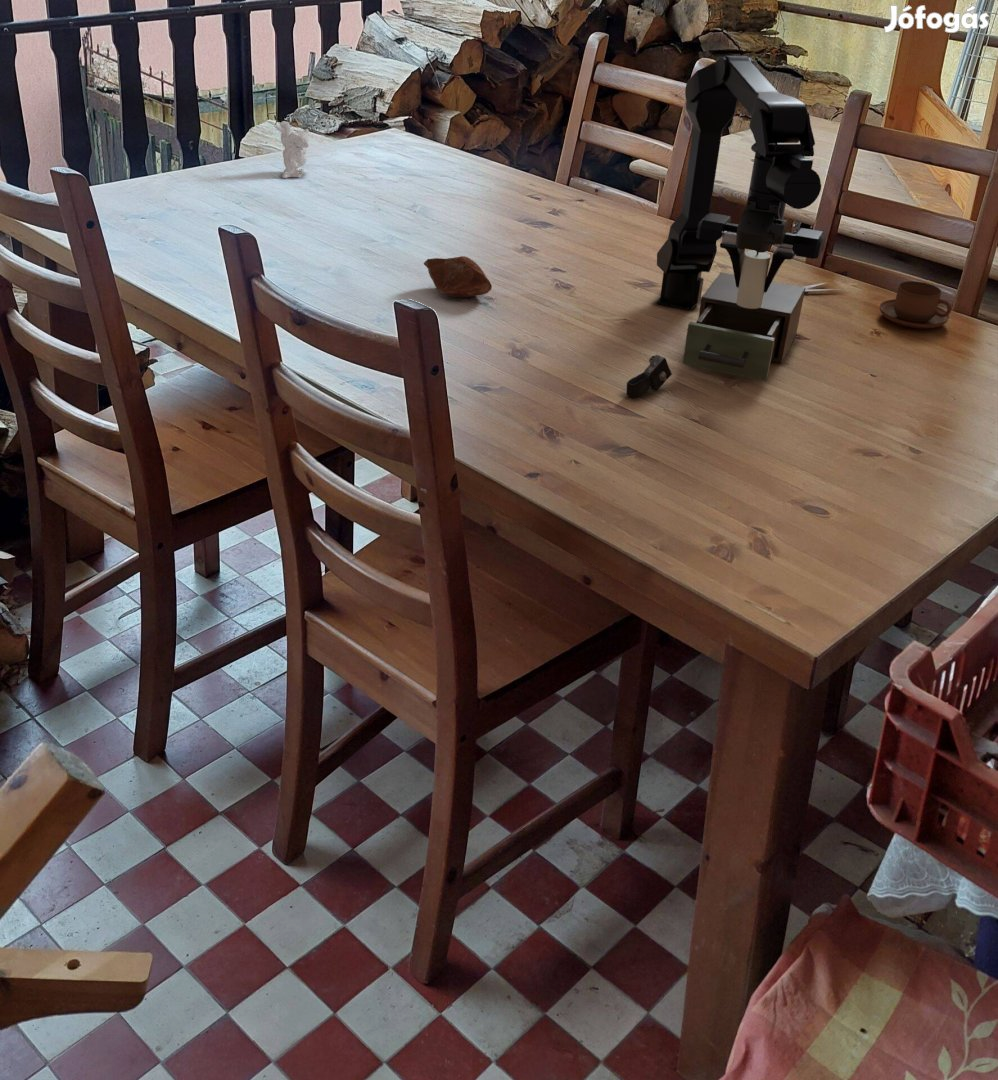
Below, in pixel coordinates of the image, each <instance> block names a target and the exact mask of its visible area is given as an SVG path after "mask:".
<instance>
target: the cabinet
mask: <svg viewBox="0 0 998 1080" xmlns="http://www.w3.org/2000/svg"><path fill="white" fill-rule="evenodd" d="M805 293H806V292H805V287H804V286H800V285H795V284H788V283H782V282H777V281H772V283H771V285H770V287H769V288H768V290H767V292H766V293H765V292H764V296H763V301H762V306H761V307H760V308H756V309H749V308H744V307H741V306H739V305H737V304H736V300H737V294H738V287H736V282H735V277H734V273H727V272H721V271H720V272H719V274H718V275H717V277H716V278H715V279H714V280H713V282H712V283H711V284H710V285H709V287H708V288H707V289H706V291H705V292H704V293H703V295H701V300H700V306H699V312H698V318H699V317H700V316H701V314H702V313H703V312H704V310H705V309H706V308H707V306H708V305H709V304H710V303H712V304H718V305H723V306H728V307H734V308H739V309H744V310H750V311H755V312H760V313H766V314H771V315H777V316H782V317H783V322H782V327H781V332H780V338H779V343H778V348H777V352H776V353H775V355H774V357H773V359H772V361H771V363H772V362H773V363H778V364H782V363H783V361H784V359H785V358H786V355H787V353H788V351H789V350H790V348H791V346H792V345H793V342H794V341H795V338H796V337H797V333H798V327H799V324H800V323H799V322H800V318H801V312H802V307H803V302H804V297H805Z"/></svg>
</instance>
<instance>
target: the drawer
mask: <svg viewBox="0 0 998 1080" xmlns="http://www.w3.org/2000/svg"><path fill="white" fill-rule="evenodd" d="M782 322H783V317H782V316H777V315H771V314H766V313H760V312H755V311H750V310H744V309H739V308H734V307H728V306H723V305H718V304H712V303H710V304H709V305H708V306H707V308H706V309H705V310H704V312H703V313H702V314H701V316H700V317H699V316H698V318H697V320H696V322H694V321H689V323H688V325H687V331H686V337H685V338H686V339H685V344H684V352H683V358H682V365H683V366H684V365H685V366H689V367H693V368H700V369H704V370H709V371H714V372H719V373H724V374H728V375H733V376H738V377H744V378H749V379H754V380H758V381H763V382H766V381H767V380H768V379H769V378H768V376H769V372H770V368H771V367H770V366H771V363H772V359H773V357H774V355H775V353H776V352H777V348H778V343H779V338H780V332H781V327H782Z"/></svg>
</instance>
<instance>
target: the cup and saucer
mask: <svg viewBox="0 0 998 1080" xmlns="http://www.w3.org/2000/svg"><path fill="white" fill-rule="evenodd" d="M942 293H943V292H942V290H941V289H940V288H939V287H938V286H936V285H934V284H930V283H927V282H922V281H915V280H914V281H913V280H912V281H911V280H910V281H902V282H900V283H899V284H898V286H897V291H896V296H895V298H894V299H888V300H885V301H883V302H881V303H880V305H879V311H880V313H881V314H882V316H883V317H884V318H886V319H887V320H888V321H890V322H892V323H895V324H896V325H900V326H904V327H907V328H912V329H922V330H923V329H925V330H926V329H935V328H938V327H941V326H944V325H945V324H946V323H947V322H949V319H950V314H951V312H952V304H951V303H950V302H949V301H948V300H946V299H943V298H941V296H942ZM939 304H943V305H945V306H946V308H947V310H945V309H943V308H941V307H940V306H939Z"/></svg>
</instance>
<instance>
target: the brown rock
mask: <svg viewBox="0 0 998 1080" xmlns="http://www.w3.org/2000/svg"><path fill="white" fill-rule="evenodd" d="M423 265H424V266H425V268H427V271H428V275H429V277H430V278H431V280H432V283H433V284H434V287H435V288H436V290H437V291H438V292H440V293H441V294H444V295H447V296H449V297H451V298H452V297H453V298H466V299H467V298H471V297H476V296H483V295H486V294H488V293H489V292H490V291H492V288H493V285H492V283H491V282H490V279H489V278H488V276H486V275H487V274H485V272H484V270H483V269H482V268H481V266H480V265H479V264H478V263H477V262H475V261H474V260H473V259H471V258H469V257H468V256H463V255H461V256H454V257H448V258H441V257H439V258H438V257H435V258H434V257H433V258H427V259H426V260H425V261H424V262H423Z"/></svg>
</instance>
